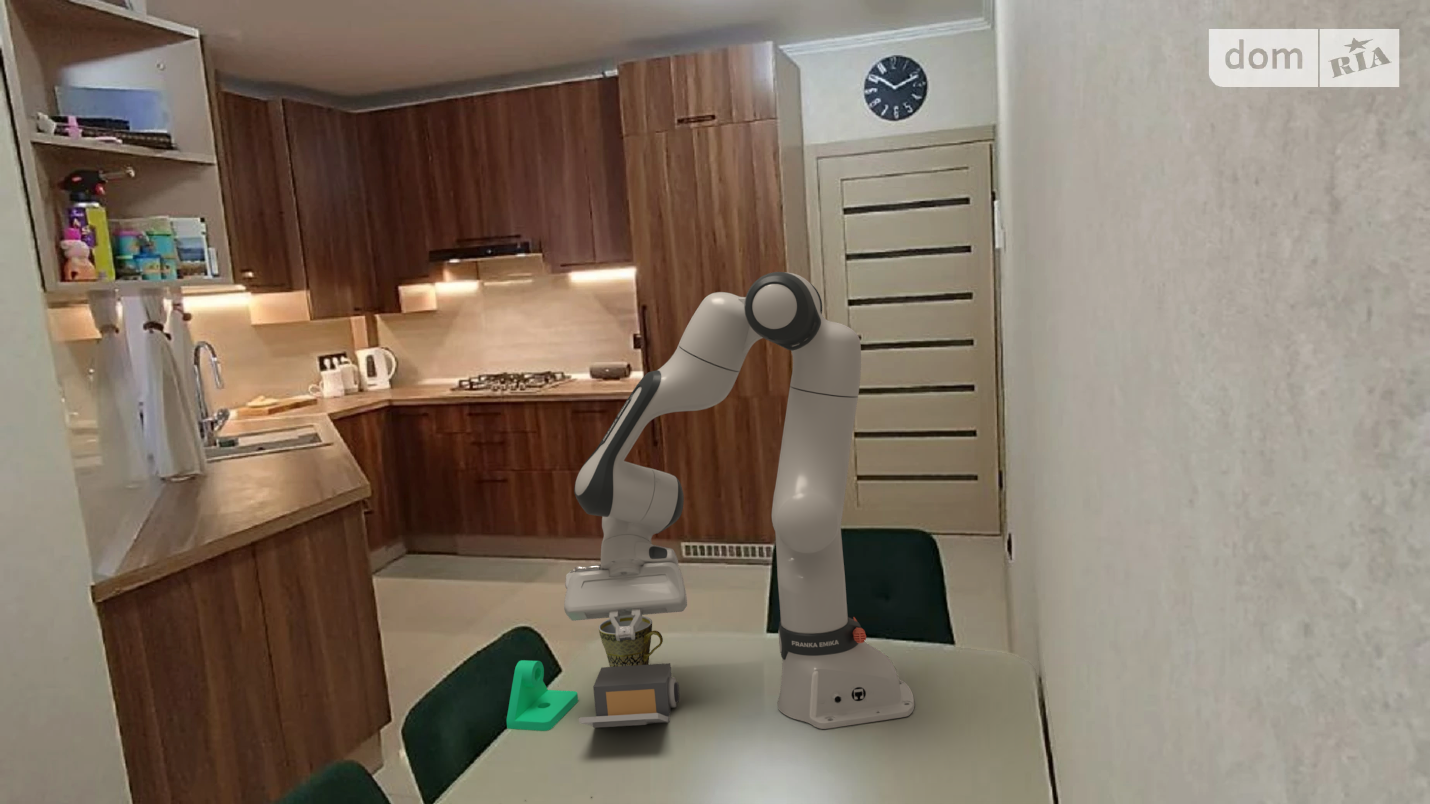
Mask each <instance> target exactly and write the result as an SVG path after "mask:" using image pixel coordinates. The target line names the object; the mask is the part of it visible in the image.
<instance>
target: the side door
mask: <svg viewBox="0 0 1430 804" xmlns="http://www.w3.org/2000/svg"><path fill="white" fill-rule="evenodd" d="M670 720H671V715H670V716H664V715H662V714H659V713H647V714H630V715H613V716H596V715H595V716H583V717H578V723H579V724H581V725H587V726H592V728H594V729H595V728H597V729H598V728H612V727H613V728H614V727H626V726H627V727H629V726H646V725H649V724H664V723H665V724H666V723H670Z"/></svg>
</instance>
